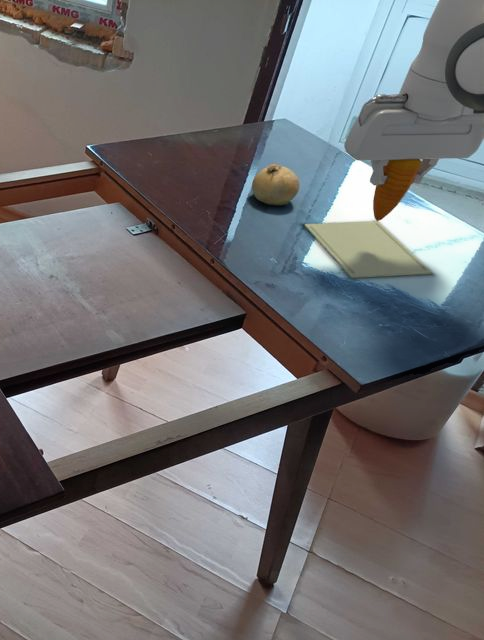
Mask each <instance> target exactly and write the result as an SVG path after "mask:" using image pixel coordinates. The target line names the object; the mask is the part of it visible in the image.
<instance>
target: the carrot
mask: <svg viewBox="0 0 484 640" xmlns="http://www.w3.org/2000/svg"><path fill="white" fill-rule="evenodd" d="M421 161H422V159H402V160H389V161H388V164H387V165H386V166H384V165H383V172H384V173H385V174H387V175H388V177H387V180H386V181H385V184H384V185H375V189H374V194H373V200H372V205H373V206H372V210H373V217H374V220H375V221H378V222H380V221H382V220H383V219H384V218H386V217H387V216H388V215H389V214H390V213H392V211H394V209H395V208H396V207H397V206H398V205H399V204H400V202H401V201H402V200H403V198H404V197H405V195H406V194H407V193H408V191H409V189H410V188H411V186H412V185H413V184H412V182H413V180H414V178H415V176H416V174H417V172H418V170H419V168H420V166H421Z"/></svg>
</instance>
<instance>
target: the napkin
mask: <svg viewBox="0 0 484 640" xmlns="http://www.w3.org/2000/svg"><path fill="white" fill-rule="evenodd" d="M304 227H305V228H306V230H307V231H309V233H310V234H311V235H312V236H313V237H314V238H315V239H316V241H318V243H319V244H320V245H321V246H322V247H323V248H324V249H325V250H326V251H327V252H328V253H329V255H330V256H331V257H332V258H333V260H335V261H336V263H338V264H339V266H340V267H341V268H342V269H343V270H344V271H345V273H347V275H348V276H349V277H350V278H351V279H358V278H373V277H374V278H377V277H378V278H379V277H396V276H415V275H416V276H419V275H432V274H433V271H431V269H430V268H428V267H427V266H426V264H424V263H423V262H422V261H421V260H420V259H419V258H417V256H416V255H414V253H412V252H411V251H410V250H409V248H407V247H406V246H405V245H404V244H403V243H401V242H400V241H399V240H398V238H397V237H395V236H394V235H393V234H391V232H390V231H389V230H387V228H386V227H384V226H383V225H382V224H381V223H380V221H376V220H375V221H351V222H350V221H349V222H348V221H347V222H326V223H325V222H322V223H304Z"/></svg>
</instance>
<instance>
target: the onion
mask: <svg viewBox="0 0 484 640" xmlns="http://www.w3.org/2000/svg"><path fill="white" fill-rule="evenodd" d="M300 186H301V185H300V180H299V178H298V176H297V174H296V173H295V172H294V171H293V170H292V169H289V168H288V167H286V166H283V165H280V164H278V163H276V162H274V163H273V164H269V165H268V166H265V167H264V168H262V169H261V170H260V171H258V173H257V174H256V175H255V176H254V177H253V179H252V183H251V189H252V193H253V195H254V197H255V198H256V200H258V201H259V202H261V203H264V204H266V205H270V206H271V205H272V206H273V205H274V206H286V205H288V204H289V203H290V202H291V201H292V200H294V198H295V197H296V196H297V194H298V193H299V190H300Z"/></svg>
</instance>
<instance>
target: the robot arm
mask: <svg viewBox="0 0 484 640" xmlns="http://www.w3.org/2000/svg"><path fill="white" fill-rule="evenodd" d="M420 47H421V48H420V49H419V51H418V54H417V55H416V57H415V58H414V59H413V60H412V62H411V64H410V66H409V69H408V71H407V73H406V75H405V78H404V80H403V83H402V84H401V85H402V86H401V88H400V90H399V93H394V94H384V93H382V94H381V93H379V94H376V95H375V96H374V97H371V99H369V100H367V101H365V102H364V104H363V105H362V106H361V109H360V112H359V114H358V116H357V118H356V119H355V121H354V123H353V125H352V126H351V129H350V130H349V132H348V134H347V137H346V138H345V141H344V145H343V146H344V150H345V152H346V153H347V155H349V157H351V158H352V159H354V160H356V161H370V163H371V169H372V173H371V175H370V177H369V178H370V179H369V183H370V184H372V185H373V186H376V185H384V184H385V181H386V180H387V177H388V175H387V174H385V173H384V172H383V165H384V166H386V165H387V164H388V161H389V160H402V159H420V160H421V166H420V168H419V170H418V172H417V174H416V176H415V178H414V180H413V182H412V184H411V185H420V184H421V183H422V182H423V181H422V180H423V179H424V176H426V175H427V174H428V173H429V172H430V171H431V170H432V169H433V168H434V167H436V165H437V164H438V162H439V160H440V159H441V160H444V159H445V160H446V159H468V158H470V157H472V156H473V155H474V154H475V153H477V151H478V150H479V148H480V146H481V145H482V143H483V141H484V0H438V2H437V4H436V6H435V8H434V10H433V12H432V13H431V15H430V18H429V21H428V23H427V25H426V28H425V30H424V33H423V35H422V43H421V46H420Z"/></svg>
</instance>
